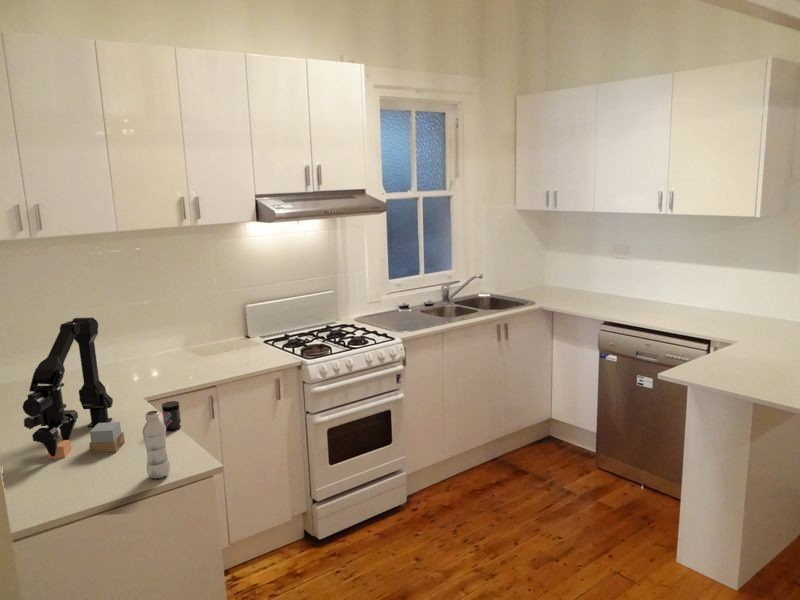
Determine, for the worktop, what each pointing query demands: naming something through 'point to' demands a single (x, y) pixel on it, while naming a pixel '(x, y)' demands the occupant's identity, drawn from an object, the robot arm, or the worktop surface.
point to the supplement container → (171, 415)
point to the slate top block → (105, 432)
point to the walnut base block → (107, 446)
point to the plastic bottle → (155, 446)
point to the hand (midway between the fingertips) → (59, 449)
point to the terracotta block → (62, 449)
